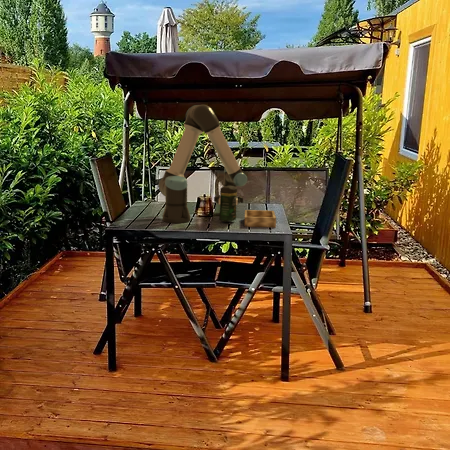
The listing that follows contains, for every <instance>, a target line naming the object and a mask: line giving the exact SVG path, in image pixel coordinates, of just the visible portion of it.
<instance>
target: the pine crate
mask: <svg viewBox="0 0 450 450" xmlns="http://www.w3.org/2000/svg"><path fill="white" fill-rule="evenodd" d="M244 227H247V228H277V217H276V213H275V210H263V209H262V210H259V209H257V210H256V209H255V210H254V209H251V210H250V209H245V210H244Z"/></svg>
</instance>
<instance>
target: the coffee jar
mask: <svg viewBox="0 0 450 450" xmlns="http://www.w3.org/2000/svg"><path fill="white" fill-rule="evenodd" d="M219 193H220V194H219V195H220V196H221V201H220V205H219V219H218V220H219V221H222V222H233V221H236V219H237V205H236V197H238V196H237V195H238V188H236V187H235V186H225V187H224V186H222V187H220V192H219Z"/></svg>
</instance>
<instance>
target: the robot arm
mask: <svg viewBox="0 0 450 450" xmlns="http://www.w3.org/2000/svg"><path fill="white" fill-rule="evenodd" d="M183 126H184V131H183V133H182V136H181V138H180V141H179V144H178V146H177V149H176V152H175V154H174V156H173V158H172V160H171V163H170V167H169V168H168V169H166V170H165V171H164V174H163V176H162V177H161V178H160V179H159V182H158V190H159V191H160V193H161V194H162V195H163V196H164V199H165V205H164V206H165V207H164V211H163V213H162V219H161V220H162V222H164V223H168V224H169V223H171V224H181V223H188V222H190V221H191V214H190V210H189V208H188V180H187V178H186V177H185V175H184V174H185V172H186V169H187V166H188V165H189V162H190V159H191V157H192V155H193V152H194V150H195V148H196V145H197V142H198V140H199V137H200V136H201V135H202V134H203V133H204V135H207V136H208V138H209V141H210V142H211V144H212V147H214V149H215V151H216V154H217V155H218V158H219V159H220V161H221V163H222V165H223V167H224V170H223V187H225V186H235V187H236V188H237V187H244V186H245V185H246V184H247V182H248V177H247V175H246V174H245V173H244V172H243V170H242V169H241V167H240V165H239V163H238V160H237V159H236V157H235V155H234V153H233V151H232V149H231V147H230V145H229V144H228V141H227V139H226V137H225V135H224V133H223V131H222V130H221V123H220V121H219V119H218V117H217V115H216V114H215V112H214V110H213V109H212V108H211V107H210V106H208V105H207V104H195V105H192V106H191V107H189V108H188V110H187V111H186V113H185V121H184V123H183ZM237 189H238V188H237ZM220 201H221V196H220V194H217V195H216V196H214V197H213V202H214V203H217V204H218V205H219V206H220ZM240 203H241V204H243V203H244V198H243V197H242V195H238V196H237V197H236V206H238V204H240Z"/></svg>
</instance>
